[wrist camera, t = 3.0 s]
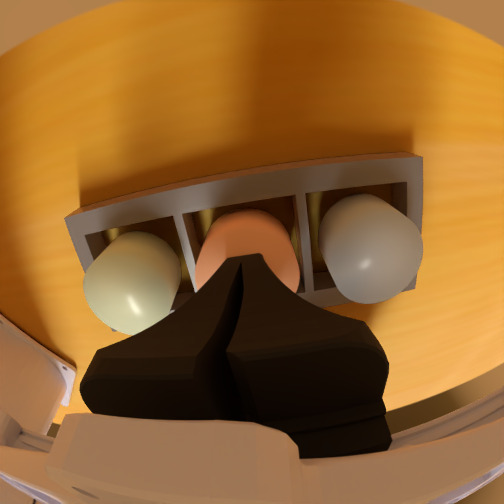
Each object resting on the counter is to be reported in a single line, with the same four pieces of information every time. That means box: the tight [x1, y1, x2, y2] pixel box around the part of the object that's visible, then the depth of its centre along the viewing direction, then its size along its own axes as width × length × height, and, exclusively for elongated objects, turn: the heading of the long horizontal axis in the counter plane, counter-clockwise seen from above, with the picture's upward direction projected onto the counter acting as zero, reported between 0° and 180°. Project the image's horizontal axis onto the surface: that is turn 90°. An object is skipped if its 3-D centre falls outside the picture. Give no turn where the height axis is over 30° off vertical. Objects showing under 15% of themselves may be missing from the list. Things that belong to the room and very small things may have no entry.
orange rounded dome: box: [195, 208, 300, 293], centre depth 12 cm, size 4×4×3 cm
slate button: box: [318, 193, 423, 304], centre depth 12 cm, size 4×4×3 cm
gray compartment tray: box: [64, 152, 423, 331], centre depth 14 cm, size 17×7×2 cm, turn 100°
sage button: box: [83, 231, 182, 335], centre depth 12 cm, size 4×4×3 cm
